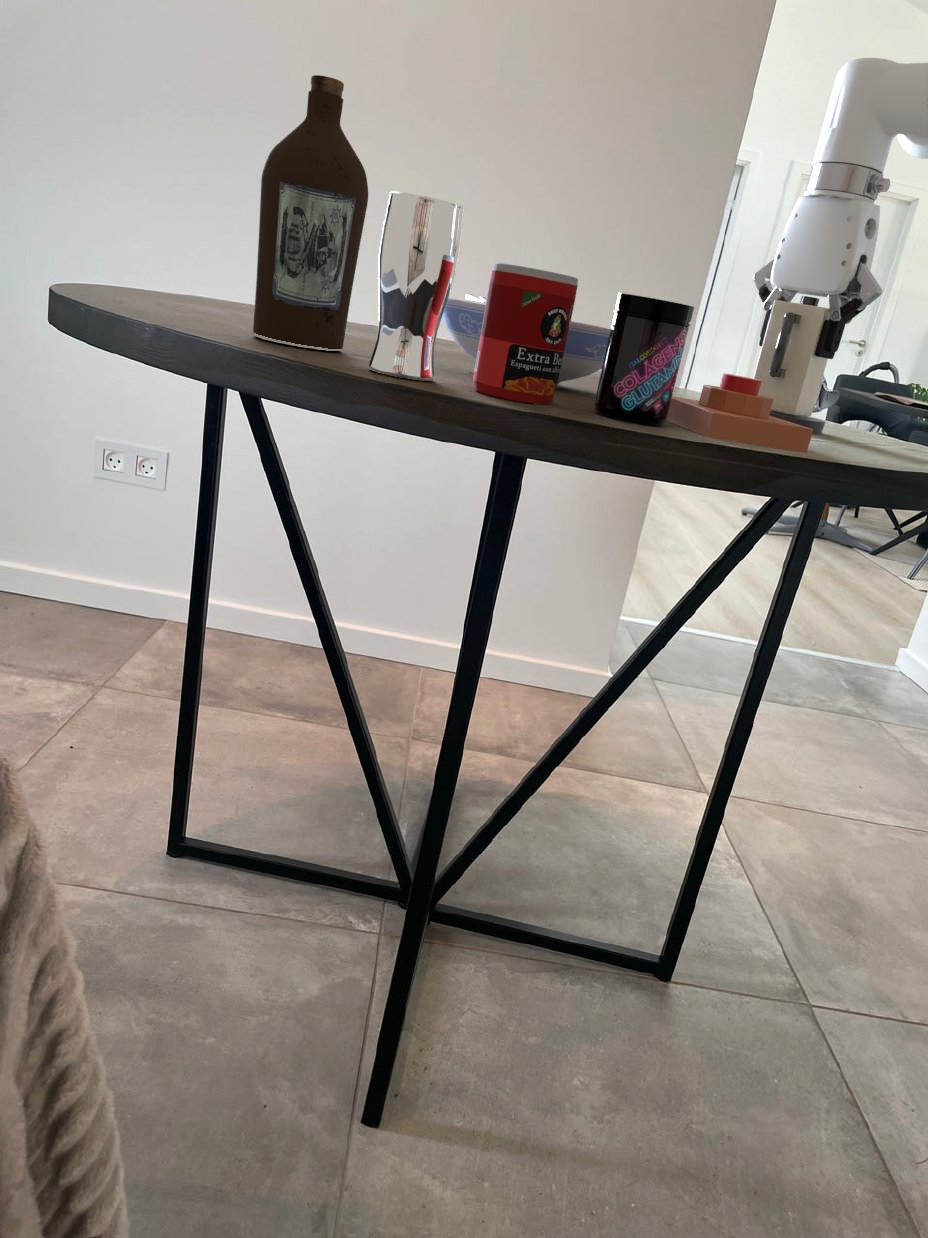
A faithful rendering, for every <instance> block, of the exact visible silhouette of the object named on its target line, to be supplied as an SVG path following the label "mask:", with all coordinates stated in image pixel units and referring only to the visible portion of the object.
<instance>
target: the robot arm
mask: <svg viewBox="0 0 928 1238" xmlns="http://www.w3.org/2000/svg"><path fill="white" fill-rule="evenodd" d="M833 83H834V84H833V87H832V91H831V95H830V97H829V102H828V104H827V105H828V106H827V110H826V114H825V117H824V120H823V123H822V128H821V131H820V134H819V139H818V143H817V147H816V150H815V153H814V157H813V162H812V164H811V167H810V172H809V176H808V179H807V182H806V186H805V190H804V192H803V193H804V194H803V196H799V197H798V199H797V200H796V203H795V204H794V206H793V209H792V211H791V212H790V216H789V217H788V220H787V222H786V224H785V228H784V230H783V233H782V235H781V238H780V242H779V245H778V247H777V250H776V254H775V257H774V258H773V259H772V260H771V261H769V262H768V263H767V264H765V265H764V266H763V267H762V268H760V269H759V270H757V271H756V272H755V273H754V274H753V277H752V278H753V282H754V285H755V286H756V289H757V291H758V296H759V298H760V300H761V302H762V304H763V305H762V309H763V310H764V311H765V316H764V319H763V323H762V326H761V331H760V335H759V338H760V339H759V341H758V342H759V343H758V345H759V347H762V345H763V341H764V337H765V334H766V330H767V326H768V323H769V319H770V315H771V312H772V308H773V304H774V301H775V300H779V301H785V302H792V300H793V299H794V298H795V296H796V295H797V294H799V295H805V296H806V295H807V296H812V297H822V298H827V304H828V309H829V312H830V319H829V320H825V322H824V324H823V327H822V331H821V334H820V338H819V341H818V345H817V348H816V351H815V355H816V356H817V357H822V358H827V359H828V360H833V359H834V357H835V354H836V352H838V350H839V348H840V344H841V342H842V337H843V335H844V331H845V327H846V325H849V324H850V323H851V322H852V321H853V319H854V318H856V317H857V316H858V315H859V314H860V313H862V312H863V311H865V310H866V308H867V306H870V305H871V304H873V302H875V301H876V300H877V299H878V298H879V297H880V296H881V295H882V294H883V289H882V287H881V285H880V284H879V283H878V281H877V279H876V278H875V276H874V275H873V273H872V271H871V269H872V265H873V262H874V258H875V257H874V255H875V253H876V252H875V251H876V246H877V242H878V234H879V227H880V218H881V217H880V216H881V205H878V204H875V201H877V200H878V195H879V194H880V193H886V192H888V191H889V189H890V186H891V180H890V178H887V177H884V171H885V167H886V164H887V160H888V157H889V154H890V150H891V146H892V144H893V141H894V139H895V137H897V140H898V143H899V145H900V147H901V148H902V149H903V151H905V153H907V154H908V155H910V156H912V157H914V158H917V159H920V160H921V159H922V160H923V159H924V160H925V159H926V160H928V62H911V63H909V62H908V63H902V62H901V63H900V62H897V61H894V60H891V59H887V58H880V57H861V58H860V57H859V58H855V59H851V60H849V61H848V62H845V63H844V64H843V66H841V68H840V69H839V70H838V72H837V73H836V78H835V81H834V82H833ZM772 285H773V286H774V288H773V287H772Z"/></svg>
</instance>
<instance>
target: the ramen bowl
mask: <svg viewBox="0 0 928 1238" xmlns="http://www.w3.org/2000/svg"><path fill="white" fill-rule="evenodd" d="M466 300H469V301H466ZM486 300H487V297H485V296H479V298H478V297H476V296H474V295H472V294H469V293H465V298H464V300H461V299H455V298H450V297H449V298H448V301H447V304H446V307H445V310H444V312H443V315H442V320H443V321H444V324H445V326H446V328H447V330H448V332H449V335H450V336H451V337H452V339H453V341H454V342H455V344H457V346H458V347H459V348H460V349H462V351H463V352H465V354H467V355H469V356H470V357H471V358H472V359H474V360H475V361H476V359H477V353H478V347H479V341H480V335H481V329H482V324H483V318H484V312H485V306H486ZM477 302H479V303H477ZM610 330H611V327H606V326H605V327H604V326H599V325H594V324H590V323H583V322H580V321H574V320H571V322H570V326H569V331H568V336H567V341H566V345H565V350H564V355H563V360H562V365H561V369H560V374H559V379H558V384H557V385H559V384H560V383H562V382H568V381H572V380H576V379H580V378H583V377H588V376H590V375H592V374H595V373H597V372H598V371H600V370H602V366H603V361H604V357H605V352H606V348H607V343H608V339H609V334H610Z"/></svg>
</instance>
